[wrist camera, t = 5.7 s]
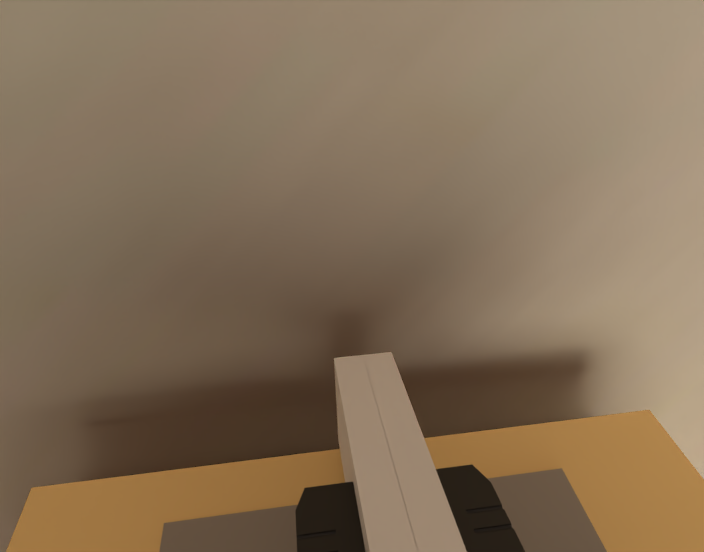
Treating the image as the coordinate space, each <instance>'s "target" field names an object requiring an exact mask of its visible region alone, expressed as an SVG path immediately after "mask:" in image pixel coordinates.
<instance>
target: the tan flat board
mask: <svg viewBox="0 0 704 552" xmlns="http://www.w3.org/2000/svg"><path fill="white" fill-rule="evenodd" d="M424 439H425V442H426V445H427V447H428V450H429V453H430V455H431V458H432V461H433V463H434V466H435V469H441V468H448V467H456V466H464V465H471V464H472V465H473V466H474V467H475V468H477V469H478V470H479V471H480V472H481V473H482V474H483V475H484V476H485V477H486V478H487V479H488V480H489V481H490V482H491V483H492V485H493V487H494V489H495V491H496V493H497V495H498V497H499V499H500V501H501V504H502V508H503V509H504V510H505V512H506V514H507V516H508V518H509V520H510V522H511V526H512V528H514V530H515V532H516V534H517V536H518V538H519V540H520V542H521V544H522V546H523V548H524V550H525V552H704V479H703V478H702V477H701V476H700V474H699V473H698V472H697V470H696V469H695V468H694V467H693V465H692V464H691V463H690V461H689V460H688V459H687V458H686V456H685V455H684V454H683V452H682V451H681V450H680V449H679V447H678V446H677V445H676V443H675V442H674V441H673V440H672V438H671V437H670V436H669V434H668V433H667V432H666V431H665V429H664V428H663V427H662V426H661V424H660V423H659V422H658V420H657V419H656V418H655V417H654V415H653V414H652V413H651V411H650V410H643V411H635V412H627V413H620V414H612V415H604V416H596V417H588V418H580V419H572V420H564V421H556V422H548V423H540V424H532V425H524V426H517V427H509V428H501V429H493V430H485V431H477V432H469V433H461V434H453V435H445V436H437V437H429V438H424ZM338 483H345V479H344V472H343V466H342V460H341V453H340V449H334V450H326V451H318V452H311V453H303V454H295V455H287V456H279V457H271V458H263V459H255V460H247V461H239V462H231V463H223V464H215V465H208V466H200V467H192V468H184V469H176V470H168V471H160V472H152V473H144V474H136V475H128V476H120V477H113V478H105V479H97V480H89V481H81V482H73V483H65V484H57V485H49V486H41V487H33V488H31V490H30V493H29V496H28V498H27V501H26V503H25V506H24V508H23V511H22V513H21V516H20V518H19V521H18V523H17V526H16V528H15V531H14V533H13V536H12V538H11V541H10V543H9V546H8V548H7V551H6V552H297V536H296V514H295V510H296V508H297V505H298V503H299V500H300V498H301V496H302V493H303V491H304V488H307V487H315V486H323V485H330V484H338Z"/></svg>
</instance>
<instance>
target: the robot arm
mask: <svg viewBox="0 0 704 552" xmlns="http://www.w3.org/2000/svg"><path fill="white" fill-rule="evenodd" d="M334 370H335V388H336V406H337V424H338V441H339V447H340V453H341V460H342V466H343V472H344V479H345V483H338V484H330V485H323V486H315V487H307V488H304V491H303V493H302V496H301V498H300V500H299V503H298V505H297V508H296V510H295V514H296V536H297V552H525V550H524V548H523V546H522V544H521V542H520V540H519V538H518V536H517V534H516V532H515V530H514V528H512V526H511V522H510V520H509V518H508V516H507V514H506V512H505V510H504V509H503V508H502V504H501V501H500V499H499V497H498V495H497V493H496V491H495V489H494V487H493V485H492V483H491V482H490V481H489V480H488V479H487V478H486V477H485V476H484V475H483V474H482V473H481V472H480V471H479V470H478V469H477V468H475V467H474V466H473V465H472V464H471V465H464V466H456V467H448V468H441V469H435V466H434V463H433V461H432V458H431V455H430V453H429V450H428V447H427V445H426V442H425V439H424V437H423V434H422V431H421V429H420V426H419V423H418V421H417V418H416V415H415V413H414V410H413V407H412V405H411V402H410V399H409V397H408V394H407V392H406V389H405V386H404V384H403V381H402V378H401V376H400V373H399V370H398V368H397V365H396V362H395V360H394V357H393V354H392V352H386V353H376V354H367V355H357V356H348V357H338V358H334Z"/></svg>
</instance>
